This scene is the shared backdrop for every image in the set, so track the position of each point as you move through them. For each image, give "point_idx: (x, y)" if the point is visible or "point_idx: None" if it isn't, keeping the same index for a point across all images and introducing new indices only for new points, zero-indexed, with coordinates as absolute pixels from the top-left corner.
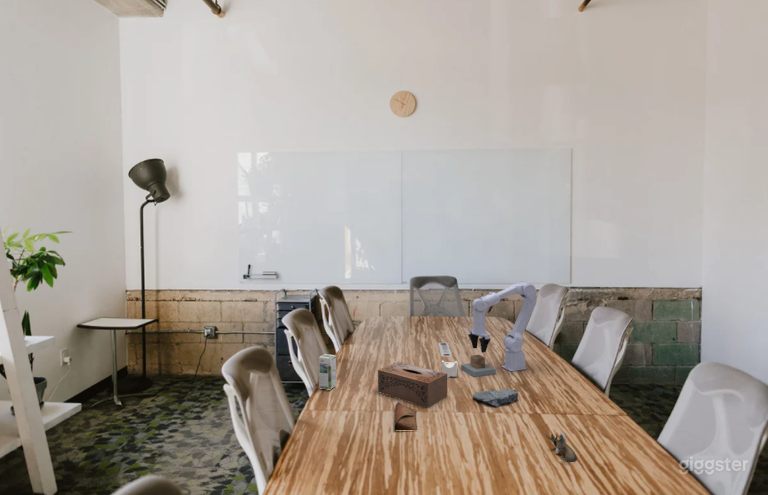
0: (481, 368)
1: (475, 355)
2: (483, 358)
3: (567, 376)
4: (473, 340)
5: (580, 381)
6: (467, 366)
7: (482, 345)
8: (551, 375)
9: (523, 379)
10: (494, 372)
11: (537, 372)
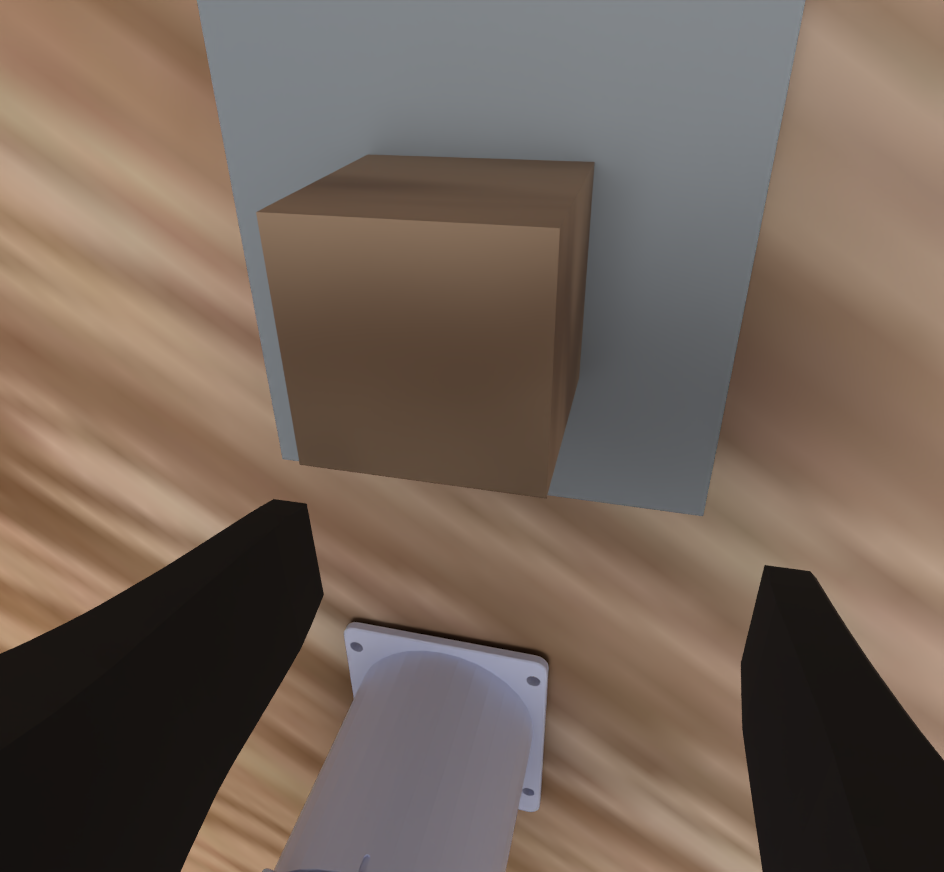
0: None
1: (531, 380)
2: (301, 417)
3: None
4: (828, 868)
5: None
6: (585, 52)
7: (48, 639)
8: None
9: (102, 547)
10: None
11: (270, 761)
